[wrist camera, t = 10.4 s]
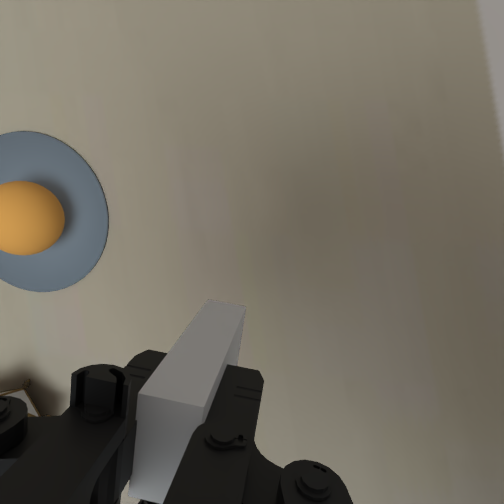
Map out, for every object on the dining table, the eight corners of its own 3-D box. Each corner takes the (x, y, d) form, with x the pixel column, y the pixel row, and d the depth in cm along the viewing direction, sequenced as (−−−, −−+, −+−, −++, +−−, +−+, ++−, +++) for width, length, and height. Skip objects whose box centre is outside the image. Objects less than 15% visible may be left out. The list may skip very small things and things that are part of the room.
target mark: (114, 144, 30) (112, 144, 30) (103, 303, 33) (101, 304, 32) (-41, 120, 31) (-44, 120, 31) (-39, 276, 34) (-41, 277, 34)
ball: (66, 190, 27) (-29, 177, 25) (60, 266, 28) (-32, 260, 26) (68, 183, 32) (-12, 172, 30) (63, 248, 33) (-15, 242, 31)
